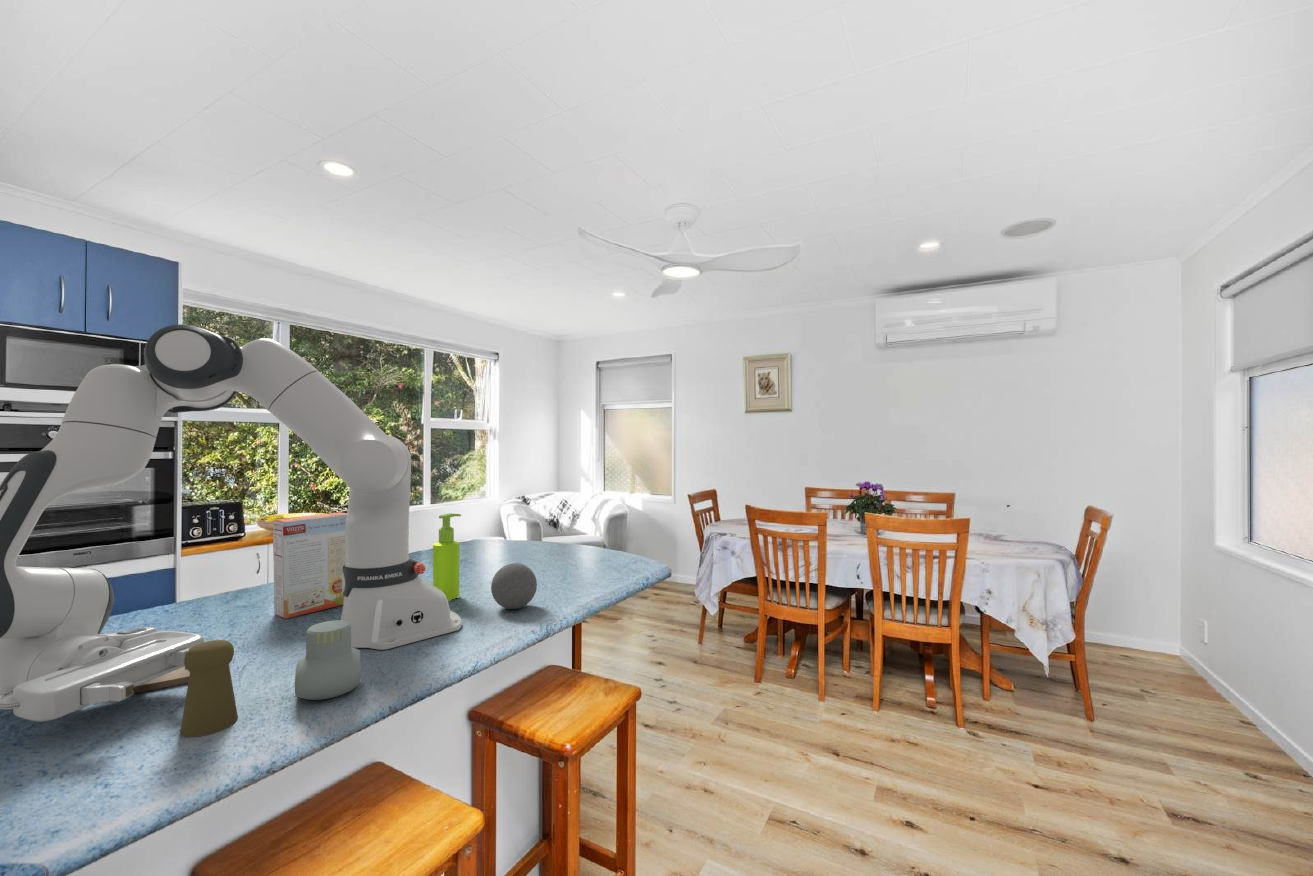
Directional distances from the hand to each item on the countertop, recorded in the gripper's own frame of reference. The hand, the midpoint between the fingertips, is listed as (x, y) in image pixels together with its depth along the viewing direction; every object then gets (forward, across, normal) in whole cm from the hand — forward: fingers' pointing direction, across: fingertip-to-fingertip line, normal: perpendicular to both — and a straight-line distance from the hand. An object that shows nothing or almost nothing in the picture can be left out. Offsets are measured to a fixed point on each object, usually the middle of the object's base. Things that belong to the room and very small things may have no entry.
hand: (166, 676), depth 75 cm
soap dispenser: (+7, +59, +6) cm, 60 cm away
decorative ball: (+26, +54, +6) cm, 61 cm away
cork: (+7, 0, +6) cm, 9 cm away
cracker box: (-18, +46, +6) cm, 49 cm away
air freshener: (+15, +11, +6) cm, 20 cm away
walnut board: (-16, +11, +6) cm, 20 cm away
